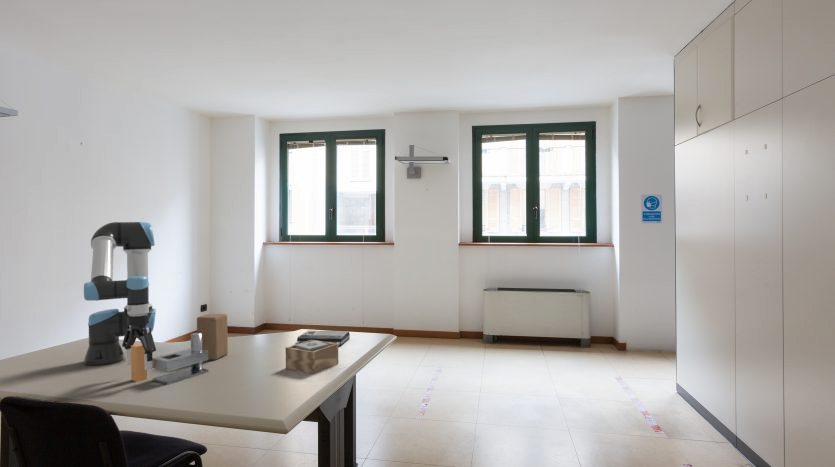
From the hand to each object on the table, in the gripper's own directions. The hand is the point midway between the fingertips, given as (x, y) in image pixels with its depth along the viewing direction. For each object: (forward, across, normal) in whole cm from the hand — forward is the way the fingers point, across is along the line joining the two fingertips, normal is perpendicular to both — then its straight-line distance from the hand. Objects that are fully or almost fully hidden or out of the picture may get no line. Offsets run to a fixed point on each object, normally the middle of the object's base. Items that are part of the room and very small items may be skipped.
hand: (139, 366), depth 184 cm
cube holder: (+5, +50, +47) cm, 69 cm away
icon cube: (+6, +51, +46) cm, 69 cm away
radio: (+6, +26, +80) cm, 85 cm away
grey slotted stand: (+5, +11, +11) cm, 16 cm away
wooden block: (+5, -2, +35) cm, 36 cm away
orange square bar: (+5, 0, 0) cm, 5 cm away
